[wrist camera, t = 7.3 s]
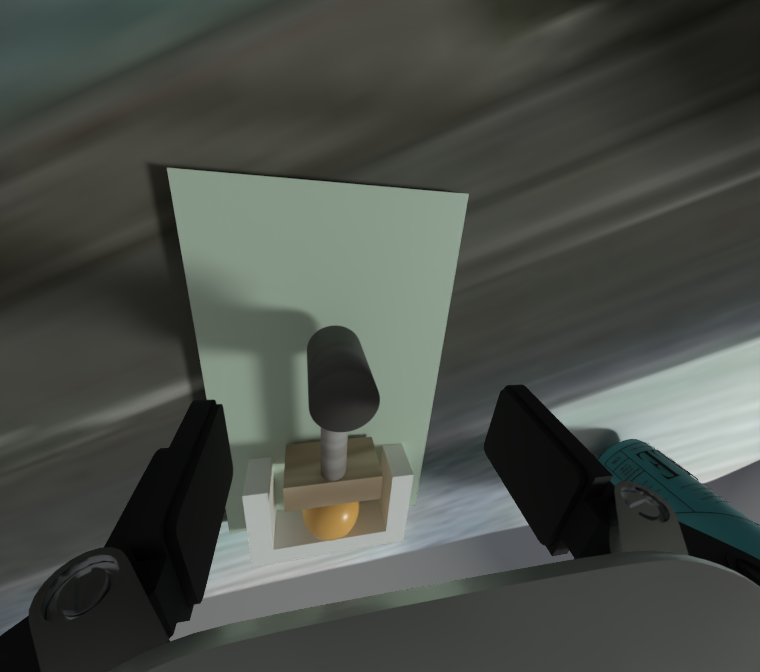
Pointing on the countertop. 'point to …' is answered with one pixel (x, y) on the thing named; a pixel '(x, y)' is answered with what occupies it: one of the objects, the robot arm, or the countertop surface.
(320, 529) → the ball
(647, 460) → the beverage bottle
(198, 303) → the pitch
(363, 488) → the rod
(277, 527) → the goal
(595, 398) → the countertop surface
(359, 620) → the robot arm
